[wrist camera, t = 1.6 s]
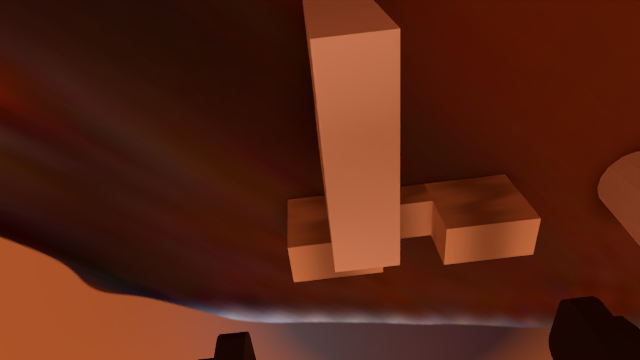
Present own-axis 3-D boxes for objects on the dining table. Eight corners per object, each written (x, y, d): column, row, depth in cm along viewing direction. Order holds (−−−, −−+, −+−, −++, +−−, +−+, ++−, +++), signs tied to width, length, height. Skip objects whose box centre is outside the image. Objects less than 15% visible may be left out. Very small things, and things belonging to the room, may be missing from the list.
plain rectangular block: (354, -21, 27) (400, 28, 16) (363, 148, 34) (400, 265, 23) (300, -15, 27) (309, 39, 16) (319, 153, 34) (335, 272, 23)
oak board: (505, 174, 36) (540, 218, 31) (499, 207, 38) (532, 254, 32) (287, 199, 36) (287, 247, 31) (293, 231, 38) (294, 282, 32)
